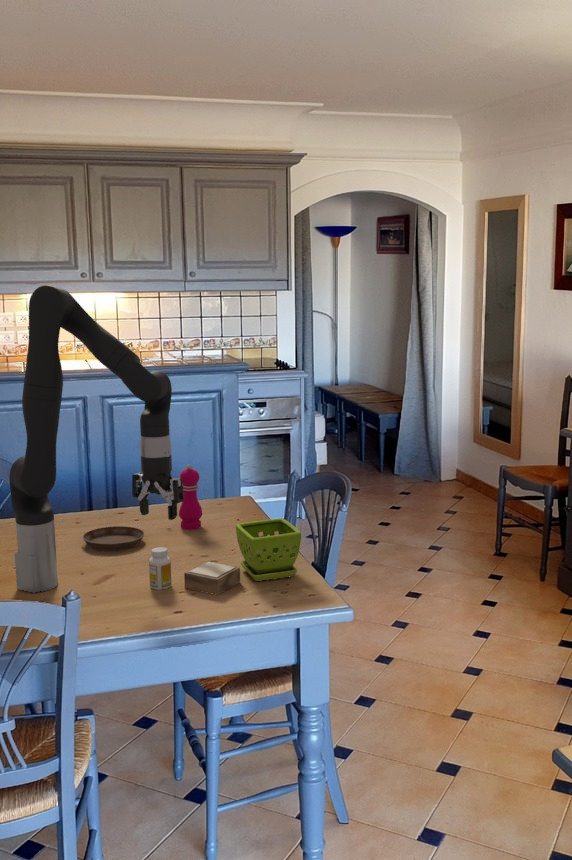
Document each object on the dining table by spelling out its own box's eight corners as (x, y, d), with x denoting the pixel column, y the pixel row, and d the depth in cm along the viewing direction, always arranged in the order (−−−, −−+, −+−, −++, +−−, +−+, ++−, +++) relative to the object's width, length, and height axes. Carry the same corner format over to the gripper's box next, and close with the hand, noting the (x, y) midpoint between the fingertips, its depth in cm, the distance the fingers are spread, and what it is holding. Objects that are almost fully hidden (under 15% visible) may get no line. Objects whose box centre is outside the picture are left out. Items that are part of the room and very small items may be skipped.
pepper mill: (175, 529, 265) (173, 466, 261) (184, 522, 272) (183, 460, 268) (197, 531, 263) (195, 467, 259) (206, 524, 270) (204, 462, 266)
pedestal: (217, 595, 211) (217, 578, 210) (184, 588, 216) (184, 571, 215) (240, 582, 219) (239, 566, 219) (208, 575, 224) (207, 560, 224)
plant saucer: (122, 531, 264) (121, 521, 264) (156, 543, 252) (156, 533, 251) (71, 544, 252) (70, 534, 252) (105, 558, 240) (104, 547, 239)
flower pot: (235, 569, 230) (234, 523, 227) (284, 562, 234) (283, 517, 232) (251, 586, 217) (251, 538, 214) (303, 579, 222) (303, 531, 219)
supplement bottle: (172, 582, 220) (171, 545, 218) (170, 590, 215) (169, 552, 213) (151, 582, 220) (149, 546, 218) (148, 590, 215) (147, 553, 213)
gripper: (123, 453, 212) (126, 516, 215) (169, 458, 204) (172, 524, 208) (142, 447, 218) (145, 509, 221) (188, 452, 211) (190, 516, 214)
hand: (158, 516), depth 214 cm, fingers open, 8 cm apart
